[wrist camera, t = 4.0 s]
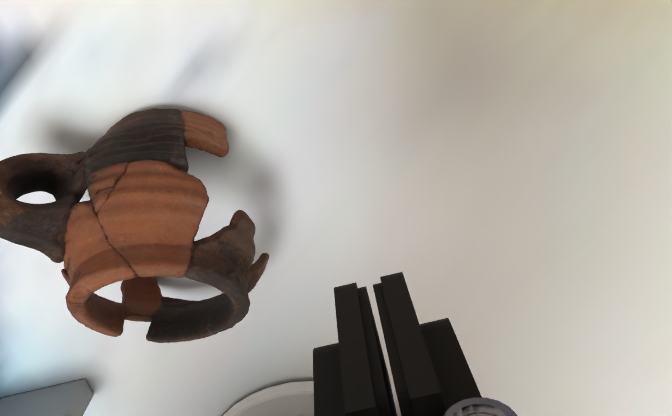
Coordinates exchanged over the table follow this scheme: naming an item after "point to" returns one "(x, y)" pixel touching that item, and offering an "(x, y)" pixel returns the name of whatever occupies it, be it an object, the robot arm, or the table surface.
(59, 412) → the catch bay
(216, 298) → the pottery mug
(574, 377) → the table surface
